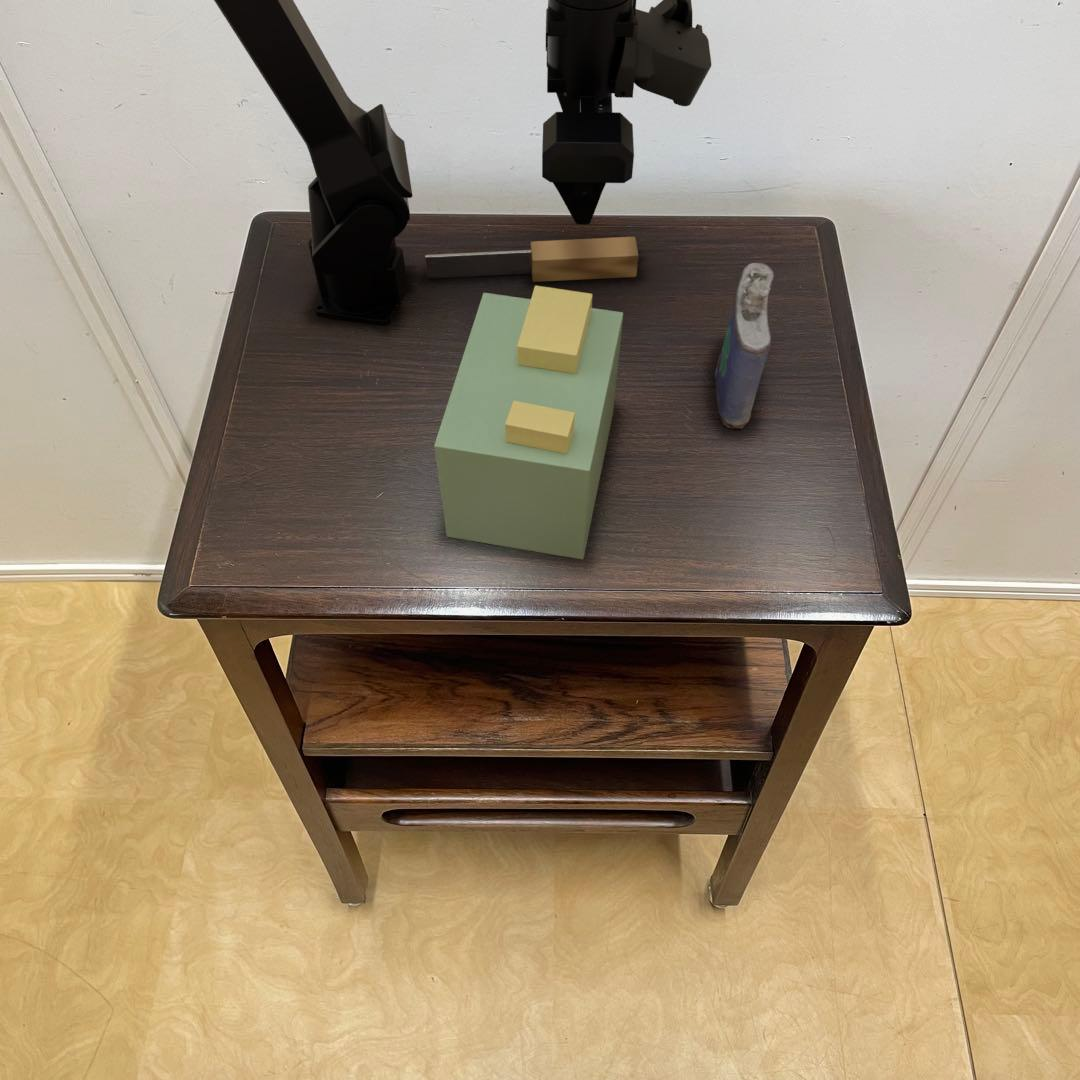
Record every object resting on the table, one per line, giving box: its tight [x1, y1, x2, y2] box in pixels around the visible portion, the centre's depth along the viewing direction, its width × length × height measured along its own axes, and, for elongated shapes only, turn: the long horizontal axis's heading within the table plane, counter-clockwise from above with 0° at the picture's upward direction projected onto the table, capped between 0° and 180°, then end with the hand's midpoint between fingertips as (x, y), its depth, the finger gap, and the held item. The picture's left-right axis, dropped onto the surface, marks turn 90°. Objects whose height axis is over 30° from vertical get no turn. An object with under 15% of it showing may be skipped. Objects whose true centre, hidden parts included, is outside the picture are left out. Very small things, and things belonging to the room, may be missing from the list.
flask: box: [714, 262, 775, 429], centre depth 75 cm, size 9×3×11 cm, turn 172°
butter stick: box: [517, 285, 593, 374], centre depth 67 cm, size 4×6×2 cm
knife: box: [424, 236, 639, 283], centre depth 86 cm, size 18×2×2 cm, turn 94°
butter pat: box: [505, 401, 575, 454], centre depth 62 cm, size 4×2×2 cm, turn 76°
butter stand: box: [433, 292, 624, 560], centre depth 70 cm, size 10×14×11 cm
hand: (582, 184), depth 79 cm, fingers open, 9 cm apart
